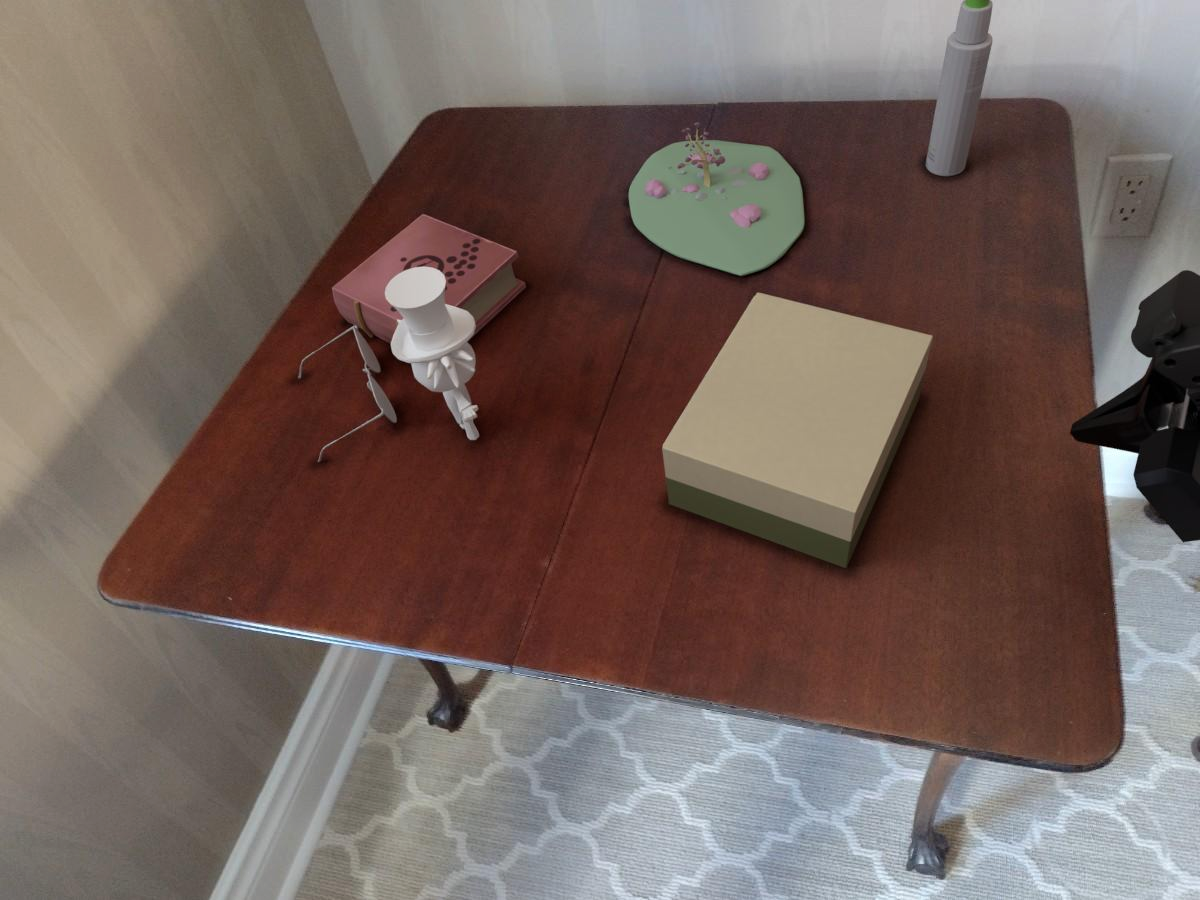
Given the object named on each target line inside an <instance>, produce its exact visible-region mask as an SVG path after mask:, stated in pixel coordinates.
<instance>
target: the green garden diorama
mask: <svg viewBox="0 0 1200 900" xmlns="http://www.w3.org/2000/svg"><path fill="white" fill-rule="evenodd" d="M693 125H694V126H695V127H700V126H701V122H699V121H698V122H695V123H693ZM698 129H699V128H696V134H695V135H694V138H695V140H692V136H691V133H690V132H687V135H685V140H684V141H677V142H673V143H671V144H668V145H666V146H665V147H662V148H661V149H659V150H657V151H655V152H654V153H652V154H651V155H650V156H649V157H648V158H647V159H646V160H645V162H644V163H643V165H642V166H641V168H640V169H639V170H638V172H637V174H636V175H635V177H634V178H633V180H632V182H631V183H630V186H629V189H628V204H629V212H630V217H631V221H632V223H633V225H634V226H635V228H636V229H637V230H638V231H639V232H640V233H641V234H642V235H643V236H644V237H645V238H646V239H647V240H649V241H650V242H651V243H653V244H654V245H655V246H657V247H658V248H660V249H662V250H664V251H665V252H667V253H668V254H670V255H673V256H675V257H678V258H680V259H682V260H686V261H690V262H693V263H696V264H699V265H702V266H706V267H709V268H712V269H716V270H719V271H722V272H725V273H728V274H732V275H735V276H738V277H744V276H747V275H750V274H753V273H756V272H759V271H762V270H764V269H766V268H769V267H771V266H772V265H773V264H775V263H776V262H777V261H779V260H780V259H781V258H782V257H783V256H784V255H785V254H786V253H787V252H788V250H789V249H790V248H791V247H792V245H793V244H794V243H795V242H796V241H797V240H798V238H799V237H800V236H801V235H802V233H803V231H804V228H805V209H804V196H803V195H804V194H803V188H802V184H801V179H800V177H799V175H798V174H797V173H796V171H795V169H794V168H793V167H792V166H791V165H790V164H789V162H787V160H786V159H785V158H784V157H783V156H782V155H781V153H780V152H779V151H777V150H775V149H774V148H772V147H770V146H768V145H767V146H766V145H760V144H753V143H751V144H749V143H744V142H743V143H742V142H736V141H735V142H733V141H727V140H718V139H708V138H707V136H708V135H710V132H708V131H707V128H703V134H701V135H700V136H699V135H698V134H699V132H698V131H699V130H698ZM691 130H692V129H691V128H690V127H687V128H685V129H681V133H685V132H686V131H691ZM701 138H702V139H701Z"/></svg>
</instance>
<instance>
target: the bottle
mask: <svg viewBox="0 0 1200 900" xmlns="http://www.w3.org/2000/svg"><path fill="white" fill-rule="evenodd" d="M993 5H994V3H993V1H992V0H963V1H962V2H961V3H960V7H959V12H958V14H957V15H958V16H957V21H956V25H955V31H953V32H951V33H950V35H948V37H947V42H946V47H945V52H944V59H943V64H942V68H941V69H942V70H941V75H940V80H939V85H938V91H937V97H936V103H935V104H936V105H935V108H934V109H935V110H934V115H933V121H932V126H931V130H930V131H931V132H930V138H929V143H928V149H927V154H926V160H925V167H926V169H927V170H928V171H929V172H930V173H931V174H934V175H935V176H940V177H953V176H956V175H959V174H961V173H962V172H964V170H965V168H966V165H967V161H968V157H969V151H970V148H971V142H972V137H973V133H974V128H975V124H976V119H977V115H978V110H979V106H980V101H981V98H982V97H981V96H982V91H983V86H984V83H985V77H986V73H987V70H988V69H987V68H988V64H989V59H990V55H991V51H992V45H993V36H992V35H991V34H990V33H989V30H990V25H991V21H992V12H993Z"/></svg>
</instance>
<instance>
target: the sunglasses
mask: <svg viewBox="0 0 1200 900" xmlns="http://www.w3.org/2000/svg"><path fill="white" fill-rule="evenodd" d="M350 331H353V333H354V336H355V340H356V342H357V346H358V349H359V351H360V354H361V357H362V359H363V361H364V368H362V372H363V373H365V374H366V375H367V378H368V381H367V382H366V386H367V388H368V389H369V390H370V391H371V392H372V396H373V398H374V400H375V402H376V405H377V406H378V408H379V410H380V411H381V412H380V413H379V414H378V415H376V416H374V417H373V418H371V419H369V420H367V421H366V422H363V424H361V425H359V426H358V427H356V428H354V429H352V430H351V431H349V432H347V433H346V434H344V435H342V436H341V437H339V438H338V439H335V440H333V441H331V442H330V443H328V444H326V445H324V446H323V448H322V449H321V451H320V453H319V457H318V460H317V463H321V462H322V458H323V452H324V451H325V450H326V449H327V448H328V447H331V446H332V445H334V444H335V443H337V442H338V441H340V440H342V439H343V438H344V437H346V436H348V435H350V434H352V433H354V432H356V431H358V430H359V429H361V428H363V427H365V426H367V425H368V424H370V423H372V422H374V421H376V420H377V419H379V418H381V417H382V416H385V417H386V418H387V419H388V420H389V421H390V422H391V423H393V424H396V423H397V420H398V419H397V414H396V412H395V409H394V407H393V405H392V403H391V401H390V400H389V398H388V397H387V395H386V393H385V392H384V390H383V389H382V387H381V386H380V385H379V383H378V382H377V381H376V379H375V378H374V377H373V373H371V372H370V371H372V372H374V373H376V374H379V373H380V372H381V366H380V363H379V361H378V358H377V357H376V354H375V353H374V351H373V349H372V348H371V346H370V345H369V343H368V342H367V340H366V339H365V337H363V335H362V333H361V332H360V331H359V327H357V326H356V325H352V326H351V327H349V328H348V329H346V330H345V331H343V332H342V333H340V334H339V335H337V336H336V337H335V338H333V339H331V340H330V341H328V342H327V343H325V344H324V345H322V346H321V347H319V348H318V349H316V350H315V351H313V352H311V353H310V354H308V355H307V356H305V357H304V358H303V359H302V360H301V362H300V365H299V372H298V377H297V379H301V378H302V369H303V364H304V362H305V361H306V360H307V359H309V358H310V357H311V356H313V355H314V354H315V353H316V352H319V351H320V350H321V349H323V348H324V347H326V346H327V345H330V344H331V343H332V342H334V341H336V340H338V339H339V338H340V337H343V336H344V335H345V334H347V333H349V332H350ZM367 367H369V368H367Z"/></svg>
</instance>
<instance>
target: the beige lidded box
mask: <svg viewBox="0 0 1200 900" xmlns="http://www.w3.org/2000/svg"><path fill="white" fill-rule="evenodd" d="M933 338H934V336H933V335H931V334H928V333H923V332H920V331H915V330H911V329H908V328H904V327H899V326H895V325H891V324H887V323H883V322H879V321H875V320H871V319H867V318H863V317H859V316H855V315H851V314H846V313H842V312H839V311H834V310H831V309H827V308H822V307H818V306H814V305H811V304H806V303H804V302H803V303H802V302H798V301H795V300H791V299H787V298H783V297H779V296H774V295H770V294H766V293H762V292H759V291H758V292H756V294H755V295H753V298H752V299H751V300H750V302H749V304H748V305H747V306H746V309H745V310H744V312H743V314H741V316H740V318H739V320H738V322H737V323H736V324H735V326H734V328H733V329H732V331H731V332H730V335H729V336H728V338H727V340H726V341H725V342H724V344H723V346H722V348H721V349H720V351H719V352H718V354H717V356H716V357H715V359H714V361H713V362H712V364H711V366H710V367H709V368H708V371H706V374H705V375H704V377H703V378H702V380H701V382H700V383H699V385H698V386H697V388H696V390H695V391H694V393H693V395H692V396H691V398H690V400H689V402H688V403H687V404H686V406H685V408H684V410H683V412H681V414H680V416H679V418H678V420H677V421H676V423H675V424H674V426H673V427H672V429H671V431H670V432H669V434H668V436H667V437H666V439H665V440H664V442H663V444H662V448H661V450H662V458H663V466H664V475H665V482H666V491H667V498H668V499H667V500H668V505H670V506H673V507H675V508H678V509H681V510H684V511H686V512H690V513H692V514H694V515H698V516H700V517H703V518H706V519H709V520H711V521H714V522H716V523H720V524H723V525H726V526H728V527H730V528H734V529H736V530H738V531H741V532H745V533H747V534H750V535H753V536H755V537H758V538H761V539H764V540H767V541H770V542H772V543H775V544H777V545H780V546H783V547H786V548H788V549H792V550H794V551H797V552H800V553H803V554H804V555H808V556H811V557H813V558H816V559H819V560H822V561H824V562H827V563H830V564H833V565H836V566H838V567H841V568H844V569H847V568H848V567H849V564H850V561H851V559H852V557H853V554H854V552H855V550H856V547H857V545H858V542H859V540H860V538H861V535H862V533H863V531H864V528H865V526H866V524H867V522H868V519H869V517H870V515H871V512H872V510H873V507H874V505H875V503H876V501H877V498H878V496H879V493H880V491H881V489H882V487H883V484H884V482H885V479H886V477H887V475H888V473H889V470H890V468H891V465H892V463H893V461H894V458H895V457H896V454H897V452H898V449H899V447H900V445H901V442H902V440H903V437H904V435H905V433H906V431H907V428H908V425H909V424H910V421H911V418H912V416H913V414H914V412H915V410H916V406H917V405H918V402H919V400H920V397H921V391H922V388H923V383H924V378H925V375H926V369H927V365H928V361H929V356H930V351H931V347H932V343H933Z"/></svg>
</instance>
